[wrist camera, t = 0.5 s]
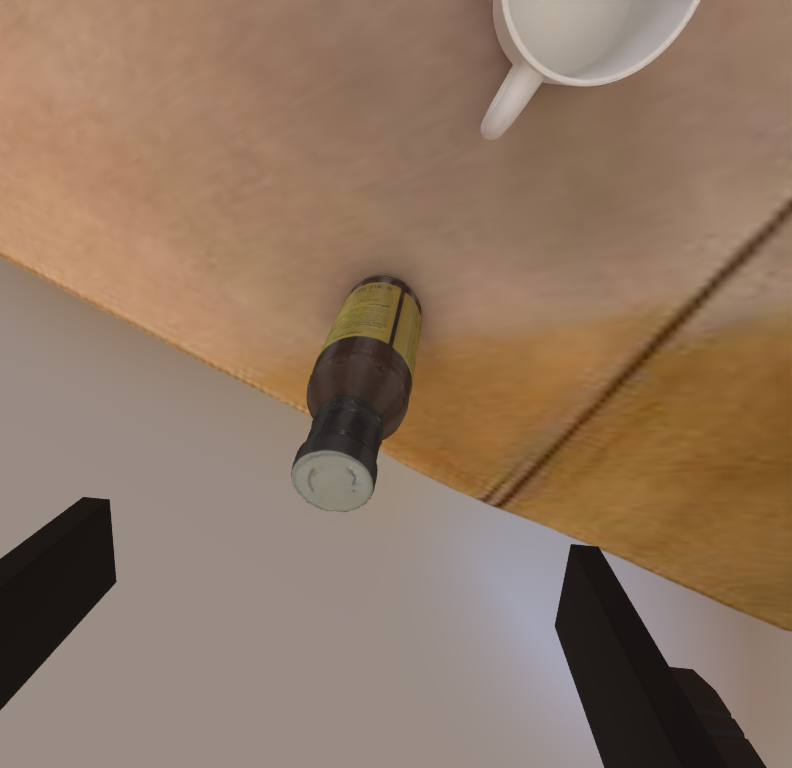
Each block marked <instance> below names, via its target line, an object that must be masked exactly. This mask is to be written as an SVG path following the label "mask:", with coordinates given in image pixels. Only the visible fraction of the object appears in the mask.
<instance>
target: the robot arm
mask: <svg viewBox="0 0 792 768" xmlns="http://www.w3.org/2000/svg"><path fill="white" fill-rule="evenodd" d="M115 583H116V572H115V560H114V547H113V536H112V524H111V512H110V500H109V499H99V498H88V497H83V498H81V499H80V500H79V501H77V502H76V503H75V504H73V505H72V506H71V507H69V508H68V509H67V510H65V511H64V512H63V513H61V514H60V515H59V516H57V517H56V518H55V519H53V520H52V521H51V522H49V523H48V524H46V525H45V526H44V527H42V528H41V529H40V530H38V531H37V532H36V533H34V534H33V535H32V536H31V537H29V538H28V539H26V540H25V541H24V542H23V543H21V544H20V545H18V546H17V547H16V548H15V549H13V550H12V551H10V552H9V553H8V554H6V555H5V556H4V557H2V558H1V559H0V710H1V709H2V708H3V707H4V706H5V705H6V704H7V702H8V701H9V700H10V699H11V698H12V697H13V696H14V695H15V694H16V692H17V691H18V690H19V689H20V688H21V687H22V686H23V684H24V683H25V682H26V681H27V680H28V679H29V678H30V677H31V676H32V675H33V673H35V671H36V670H37V669H38V668H39V667H40V666H41V665H42V664H43V663H44V661H45V660H46V659H47V658H48V657H49V656H50V655H51V653H53V651H54V650H55V649H56V648H57V647H58V646H59V645H60V644H61V642H62V641H63V640H64V639H65V638H66V637H67V636H68V635H69V634H70V633H71V632H72V630H73V629H74V628H75V627H76V626H77V625H78V624H79V623H80V621H81V620H82V619H83V618H84V617H85V616H86V615H87V614H88V613H89V612H90V610H91V609H92V608H93V607H94V606H95V605H96V603H98V602H99V601H100V599H101V598H102V597H103V596H104V595H105V594H106V593H107V592H108V591H109V590H110V588H111V587H112V586H113V585H114V584H115ZM555 628H556V631H557V634H558V637H559V640H560V643H561V645H562V648H563V651H564V654H565V657H566V659H567V663H568V665H569V668H570V671H571V674H572V677H573V680H574V683H575V685H576V688H577V691H578V694H579V697H580V699H581V702H582V705H583V708H584V711H585V714H586V717H587V720H588V722H589V725H590V728H591V731H592V734H593V737H594V739H595V742H596V745H597V748H598V750H599V753H600V757H601V759H602V762H603V765H604V768H766V766H765V765H764V764H763V762H762V760H761V759H760V757H759V756H758V754H757V753H756V751H755V749H754V748H753V746H752V745H751V743H750V742H749V740H748V739H745V737H744V733H743V731H742V730H741V728H740V727H739V726H738V724H737V722H736V721H735V719H732V717H731V713H730V712H729V710H728V709H727V707H726V706H725V704H724V703H723V702H722V700H721V698H720V697H719V695H718V694H717V692H716V691H715V690H714V689H713V688H712V687H711V686H710V685H709V684H708V683H707V682H706V681H705V680H704V679H703V678H701V677H700V676H699V675H698V674H697V673H696V672H695V671H694V670H693V669H684V668H675V667H669V666H668V664H667V662H666V661H665V659H664V658H663V656H662V654H661V652H660V651H659V649H658V647H657V646H656V644H655V642H654V640H653V639H652V637H651V635H650V634H649V632H648V630H647V628H646V627H645V625H644V623H643V622H642V620H641V618H640V617H639V615H638V613H637V611H636V610H635V608H634V606H633V605H632V603H631V601H630V600H629V598H628V596H627V594H626V593H625V591H624V589H623V588H622V586H621V584H620V583H619V581H618V579H617V578H616V576H615V574H614V572H613V571H612V569H611V567H610V566H609V564H608V562H607V560H606V559H605V557H604V555H603V554H602V552H601V550H600V549H599V547H595V546H585V545H575V544H571V546H570V551H569V556H568V561H567V567H566V572H565V577H564V582H563V587H562V592H561V597H560V602H559V607H558V612H557V617H556V622H555Z"/></svg>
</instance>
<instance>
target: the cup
mask: <svg viewBox="0 0 792 768" xmlns="http://www.w3.org/2000/svg"><path fill="white" fill-rule="evenodd" d="M699 2H700V0H493V20H494V26H495V31H496V35H497V38H498V41H499V44H500V46H501V48H502V50H503V52H504V53H505V55H506V57H507V58H508V59H509V61H510V62H511V63H512V64H513V66H512V68H511V69H510V71H509V73H508V75H507V77H506V78H505V80H504V82H503V84H502V85H501V87H500V89H499V91H498V92H497V94H496V96H495V98H494V99H493V101H492V103H491V105H490V107H489V109H488V111H487V113H486V115H485V117H484V119H483V122H482V124H481V134H482V136H483V137H484V138H485V139H487V140H494V139H496V138H498V137H500V136H501V135H502V134H503V133H504V132H505V131H506V130H507V129H508V128H509V127H510V126H511V125H512V123H513V122H514V121H515V120H516V118H517V117H518V116H519V114H520V113H521V112H522V110H523V109H524V108H525V106H526V105H527V103H528V102H529V100H530V99H531V98H532V96H533V95H534V93H535V92H536V90H537V89H538V87H539V86H540V84H541V83H542V82H543V83H547V84H557V85H568V86H582V87H589V86H599V85H604V84H608V83H612V82H615V81H618V80H620V79H623V78H625V77H627V76H629V75H631V74H633V73H635V72H637V71H638V70H640V69H642V68H643V67H645V66H646V65H648V64H649V63H650V62H652V61H653V60H654V59H655V58H657V57H658V56H659V55H660V54H661V53H662V52H663V51H664V50H665V49H666V48H667V47H668V46H669V45H670V44H671V43H672V42H673V41H674V40H675V39H676V37H677V36H678V35H679V34H680V32H681V31H682V30H683V28H684V27H685V26H686V24H687V23H688V21H689V20H690V18H691V16H692V15H693V13H694V11H695V10H696V8H697V6H698V4H699Z"/></svg>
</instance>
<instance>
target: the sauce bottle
mask: <svg viewBox="0 0 792 768" xmlns="http://www.w3.org/2000/svg"><path fill="white" fill-rule="evenodd" d="M420 316H421V307H420V304H419V302H418V299H417V298H416V296H415V294H414V293H413V291H412V290H411V289H410V288H409V287H408V286H407V285H406V284H405V283H404V282H402V281H400V280H398V279H394V278H391V277H371V278H368V279H366V280H364V281H363V282H362V283H360V284H359V285H357V286H356V287H355V288H354V289H353V290H352V291H351V293H350V294H349V296H348V297H347V299H346V300H345V302H344V304H343V306H342V308H341V310H340V312H339V314H338V316H337V318H336V321H335V323H334V325H333V327H332V329H331V331H330V333H329V335H328V337H327V340H326V342H325V344H324V346H323V348H322V350H321V352H320V354H319V356H318V358H317V361H316V363H315V366H314V368H313V372H312V375H311V376H310V380H309V383H308V388H307V405H308V409H309V411H310V414H311V416H312V418H313V421H312V426H311V431H310V433H309V435H308V438H307V440H306V442H305V443H303V444H302V446H301V447H300V448H299V450H298V452H297V455H296V457H295V461H294V463H293V466H292V472H291V478H292V483H293V486H294V488H295V489H296V490H297V492H298V494H299V495H300V496H301V497H302V498H303V499H304V500H305V501H306V502H307V503H309V504H311V505H313V506H314V507H317V508H319V509H322V510H326V511H338V512H348V511H351V510H355V509H357V508H359V507H360V506H362V505H364V504H365V503H366V502H367V501H368V500H369V499H370V498H371V496H372V494H373V492H374V488H375V483H376V478H377V464H376V460H377V455H378V451H379V447H380V445H381V443H382V440H385V439H386V438H388V437H389V436H390V435H392V434H393V433H394V432H395V431H396V430H397V428H398V427H399V426H400V424H401V422H402V421H403V419H404V416H405V414H406V411H407V408H408V402H409V396H410V394H411V390H412V385H413V377H414V370H415V363H416V356H417V349H418V342H419V335H420V328H421V318H420Z"/></svg>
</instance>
